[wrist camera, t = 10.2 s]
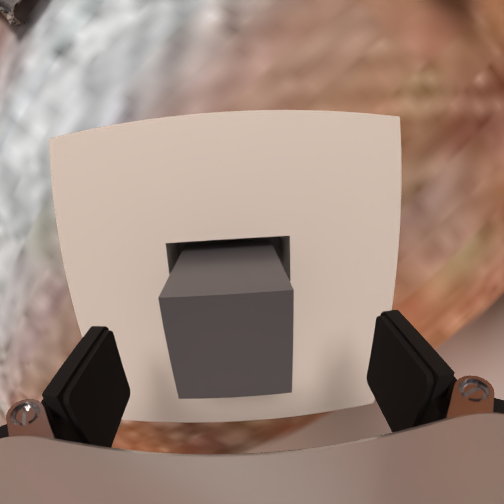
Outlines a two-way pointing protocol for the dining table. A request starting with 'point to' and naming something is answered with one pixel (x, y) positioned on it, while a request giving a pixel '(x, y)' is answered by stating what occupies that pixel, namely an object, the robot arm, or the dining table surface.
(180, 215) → the socket
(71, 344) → the dining table surface
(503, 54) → the dining table surface
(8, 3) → the table tennis paddle
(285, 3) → the dining table surface
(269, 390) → the plug
